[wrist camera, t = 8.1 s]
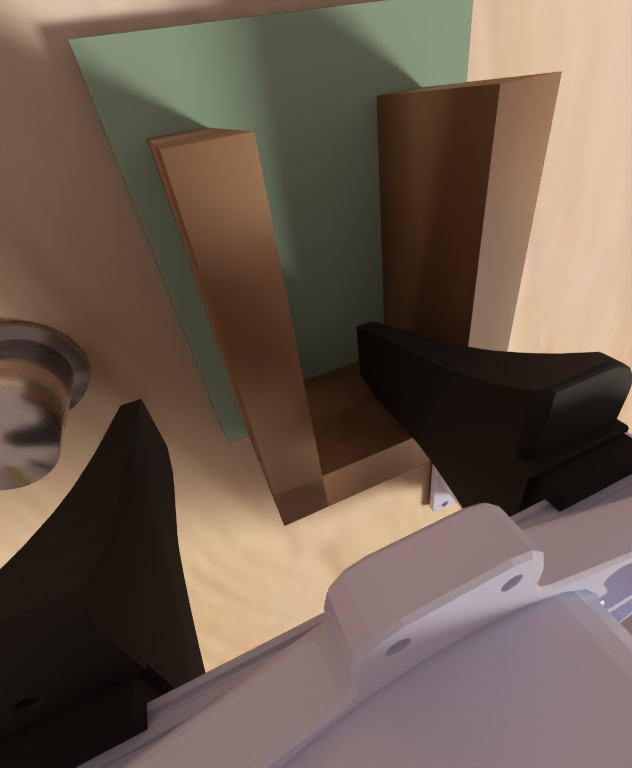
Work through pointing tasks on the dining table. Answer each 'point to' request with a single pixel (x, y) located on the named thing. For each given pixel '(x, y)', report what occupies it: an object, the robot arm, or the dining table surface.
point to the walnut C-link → (399, 269)
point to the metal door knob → (35, 398)
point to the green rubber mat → (278, 148)
